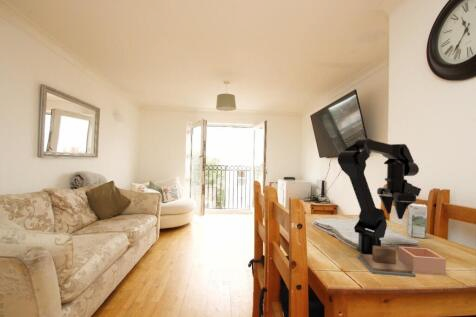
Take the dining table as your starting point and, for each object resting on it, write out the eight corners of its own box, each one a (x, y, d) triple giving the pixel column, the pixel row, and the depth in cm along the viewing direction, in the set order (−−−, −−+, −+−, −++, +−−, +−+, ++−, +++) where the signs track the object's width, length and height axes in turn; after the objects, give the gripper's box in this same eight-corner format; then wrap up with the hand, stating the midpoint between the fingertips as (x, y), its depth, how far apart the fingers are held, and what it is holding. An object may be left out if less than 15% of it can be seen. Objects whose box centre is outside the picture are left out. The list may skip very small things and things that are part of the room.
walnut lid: (372, 270, 75) (373, 252, 75) (359, 256, 86) (359, 240, 86) (412, 273, 74) (412, 255, 74) (393, 258, 85) (394, 243, 85)
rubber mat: (371, 273, 75) (372, 271, 75) (357, 257, 87) (357, 255, 87) (415, 276, 74) (415, 274, 74) (394, 260, 86) (394, 258, 86)
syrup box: (421, 235, 116) (422, 203, 116) (426, 239, 110) (427, 205, 110) (407, 233, 118) (408, 202, 118) (411, 237, 112) (412, 204, 112)
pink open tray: (413, 273, 76) (413, 256, 76) (397, 261, 85) (398, 246, 85) (445, 275, 75) (446, 259, 75) (426, 263, 84) (427, 248, 84)
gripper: (433, 179, 88) (431, 223, 89) (405, 175, 107) (404, 212, 107) (398, 177, 90) (397, 221, 90) (377, 174, 108) (376, 210, 109)
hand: (394, 216), depth 99 cm, fingers open, 9 cm apart
